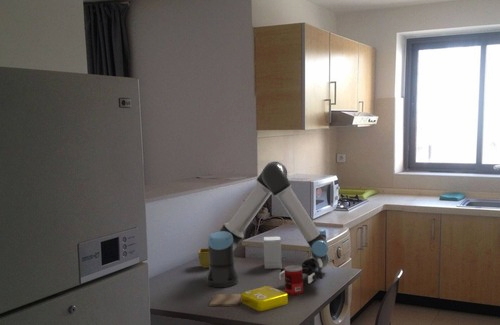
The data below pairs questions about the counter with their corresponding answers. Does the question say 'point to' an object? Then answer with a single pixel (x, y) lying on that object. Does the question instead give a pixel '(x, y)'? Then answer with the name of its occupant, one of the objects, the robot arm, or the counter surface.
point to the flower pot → (204, 257)
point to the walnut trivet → (225, 300)
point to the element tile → (264, 298)
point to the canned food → (293, 280)
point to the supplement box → (272, 252)
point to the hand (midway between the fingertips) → (294, 278)
